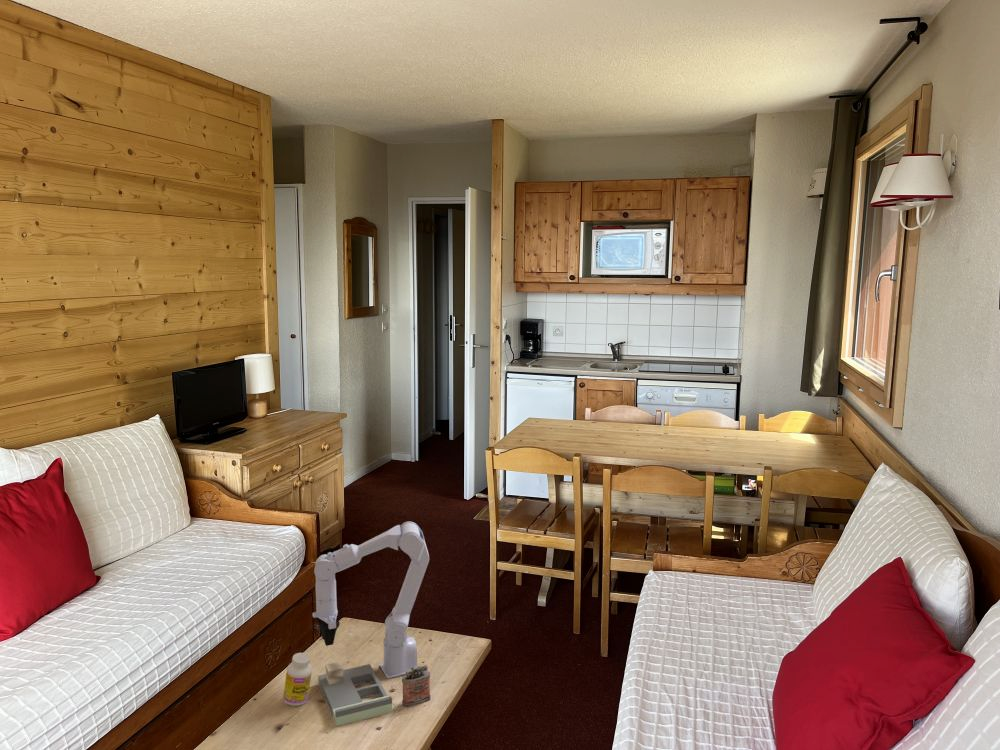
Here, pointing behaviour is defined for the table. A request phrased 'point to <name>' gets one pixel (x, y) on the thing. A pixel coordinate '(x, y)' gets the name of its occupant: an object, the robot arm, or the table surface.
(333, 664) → the block
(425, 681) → the ornate red tin
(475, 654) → the table surface
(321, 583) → the robot arm
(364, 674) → the grey divided tray
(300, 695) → the supplement bottle
